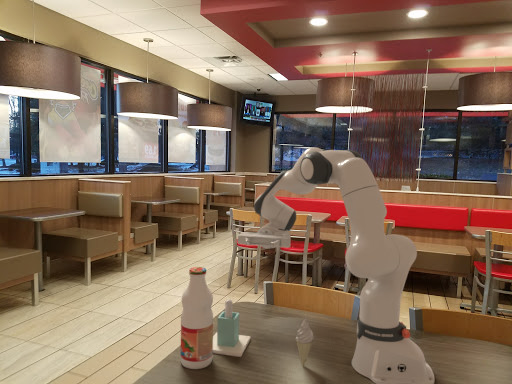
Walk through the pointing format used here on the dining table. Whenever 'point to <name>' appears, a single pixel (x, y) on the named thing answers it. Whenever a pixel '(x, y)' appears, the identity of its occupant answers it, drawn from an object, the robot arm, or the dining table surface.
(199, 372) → the dining table surface
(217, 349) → the post stand
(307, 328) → the ice cream cone
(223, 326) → the sleeve
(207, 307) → the fruit juice
